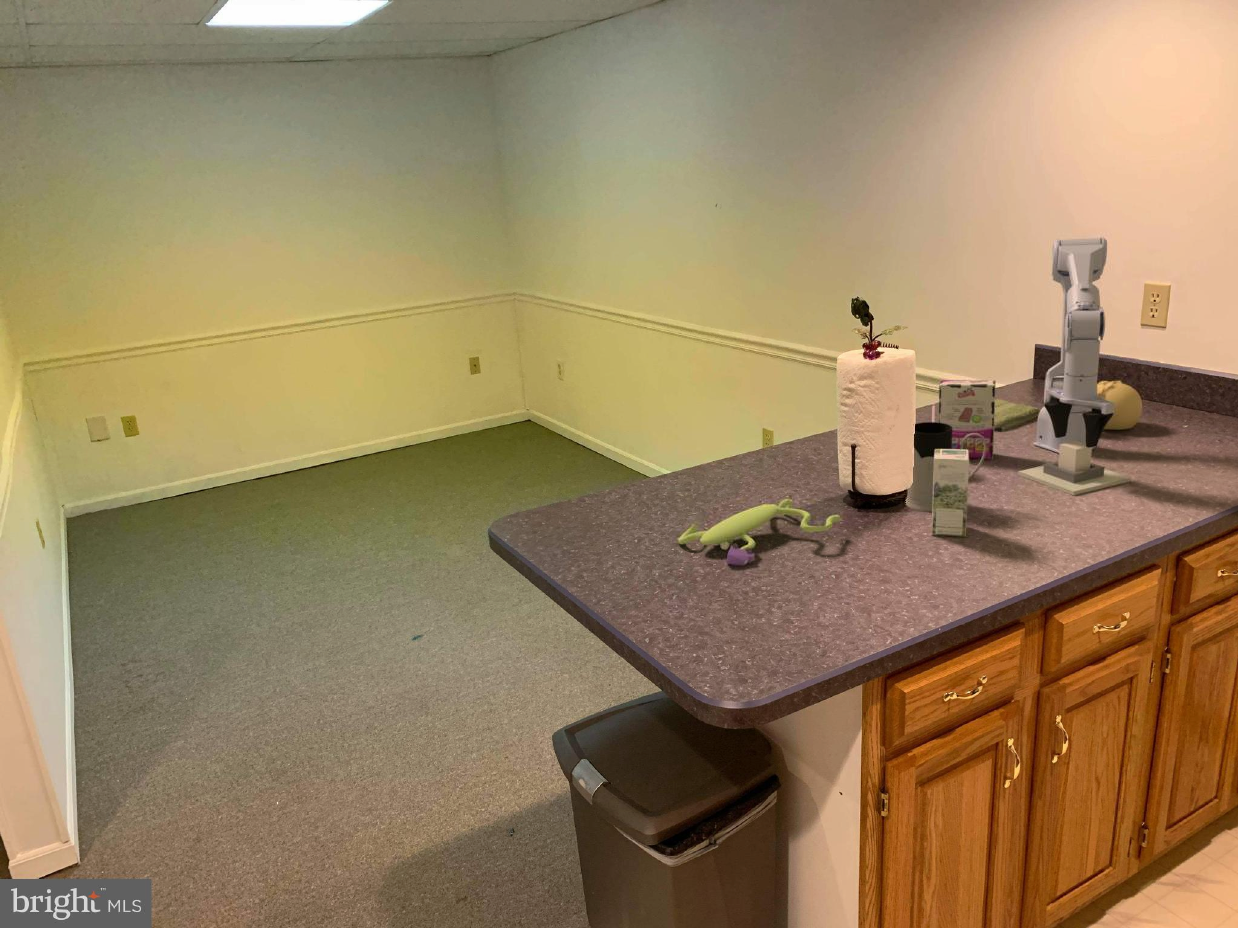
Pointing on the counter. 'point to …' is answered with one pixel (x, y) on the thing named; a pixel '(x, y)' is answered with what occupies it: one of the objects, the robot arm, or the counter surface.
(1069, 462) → the block
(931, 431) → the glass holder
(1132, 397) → the sculpture
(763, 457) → the counter surface
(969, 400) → the candy bar box
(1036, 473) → the charging dock
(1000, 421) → the washcloth
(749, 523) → the figurine
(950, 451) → the syrup box
